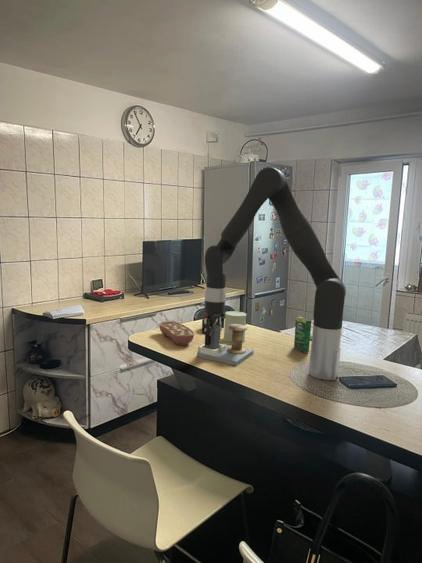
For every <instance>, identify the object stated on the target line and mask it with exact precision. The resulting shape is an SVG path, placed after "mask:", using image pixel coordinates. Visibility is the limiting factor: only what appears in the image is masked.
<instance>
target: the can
mask: <svg viewBox="0 0 422 563" xmlns="http://www.w3.org/2000/svg"><path fill="white" fill-rule="evenodd" d="M224 313H225V319H224V328H223V329H224V331H223V338H222V339H223V341H225V342H228V343H231V344H232V331H233V330H231V329H229V325H231V324H241V325H245V326H247V312H243V311H235V310H233V311H232V310H230V311H225V312H224ZM245 334H246V330H245V331H243V341H242V343H244V342H245V341H246V339H245V338H246V337H245V336H246V335H245Z"/></svg>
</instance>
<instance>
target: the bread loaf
mask: <svg viewBox="0 0 422 563" xmlns="http://www.w3.org/2000/svg"><path fill="white" fill-rule="evenodd" d="M158 326H159V330H160V332H161V333H162V334H163V335H165V336H166V337H169V338H170V339H172V341H174V342H175V344H177V345H179V346H186V345H189V344H190V343H191V342H192V341H193V339H194V336H195V332H194V331H193V330H192V329H191V328H190V327H188V326H186V325H184V324H181V323H179V322H176V321H161V322H159V324H158Z"/></svg>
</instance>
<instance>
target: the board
mask: <svg viewBox="0 0 422 563" xmlns="http://www.w3.org/2000/svg"><path fill="white" fill-rule="evenodd" d="M230 346H232V344H231V345H229V344H226V343H220V342H219V349H215V350H213V349H209V348H205V343H204V344H201V345H199V346H198V347H197V352H196V357H197V358H201V359H205V360H209V361H214V362H219V363H224V364H228V365H232V366H236V367H237V366H239V365H240V364H241V363H243V362H244V361H245V360H247V359H249V358H250V357H251V356H253V355H254V349H250V348H245V349H246V352H245V353H243V354H234V353H230V352H228V351H227V348H228V347H230Z"/></svg>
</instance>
